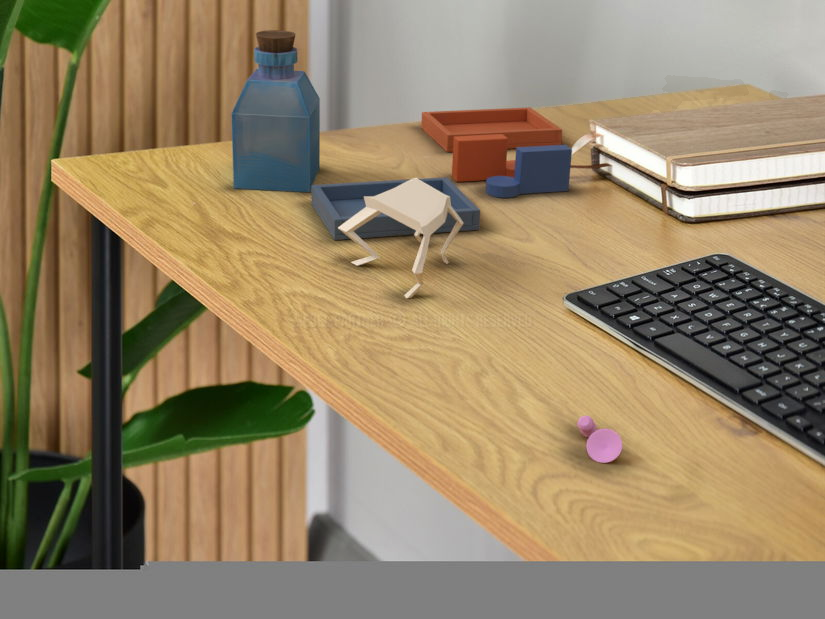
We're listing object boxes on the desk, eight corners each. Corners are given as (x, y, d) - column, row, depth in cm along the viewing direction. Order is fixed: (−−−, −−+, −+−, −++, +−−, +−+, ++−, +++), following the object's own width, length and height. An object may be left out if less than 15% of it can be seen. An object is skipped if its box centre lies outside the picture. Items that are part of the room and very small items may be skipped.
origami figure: (326, 246, 86) (326, 180, 84) (436, 236, 89) (439, 172, 87) (374, 312, 76) (376, 239, 74) (497, 299, 79) (502, 228, 77)
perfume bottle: (319, 169, 103) (319, 28, 98) (309, 192, 97) (308, 43, 93) (248, 165, 103) (244, 25, 99) (233, 188, 98) (229, 40, 93)
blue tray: (446, 195, 98) (447, 176, 97) (479, 230, 91) (480, 209, 90) (311, 204, 95) (311, 184, 94) (334, 240, 88) (334, 219, 87)
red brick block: (459, 184, 100) (461, 143, 99) (448, 174, 103) (450, 133, 101) (537, 180, 102) (540, 139, 101) (525, 170, 105) (528, 130, 103)
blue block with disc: (558, 183, 102) (562, 142, 100) (572, 193, 99) (575, 151, 98) (480, 188, 100) (483, 146, 98) (492, 198, 97) (494, 156, 96)
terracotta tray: (529, 123, 119) (530, 107, 119) (561, 146, 112) (562, 129, 111) (421, 128, 116) (421, 111, 116) (446, 152, 109) (447, 135, 108)
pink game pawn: (606, 479, 61) (634, 458, 61) (600, 469, 60) (629, 447, 60) (571, 436, 63) (599, 416, 63) (565, 426, 62) (593, 404, 62)
